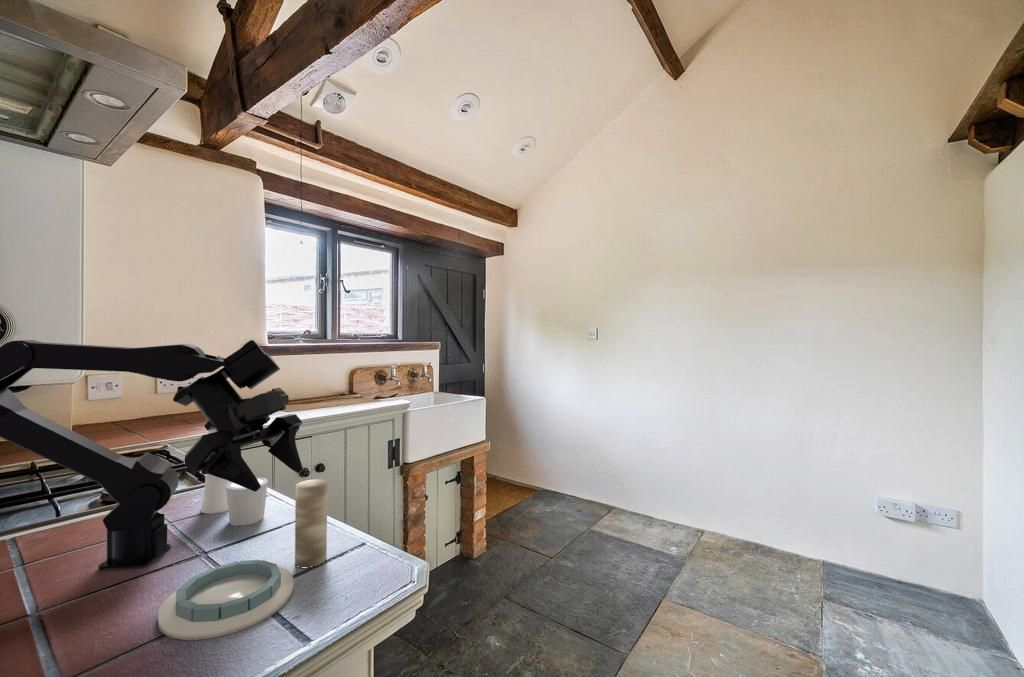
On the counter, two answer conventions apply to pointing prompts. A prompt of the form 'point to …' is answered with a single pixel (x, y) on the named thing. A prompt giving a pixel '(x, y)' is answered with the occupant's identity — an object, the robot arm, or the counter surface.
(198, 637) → the ring dish
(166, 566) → the counter surface
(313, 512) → the birch cylinder
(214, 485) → the cosmetic bottle
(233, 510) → the white cup
